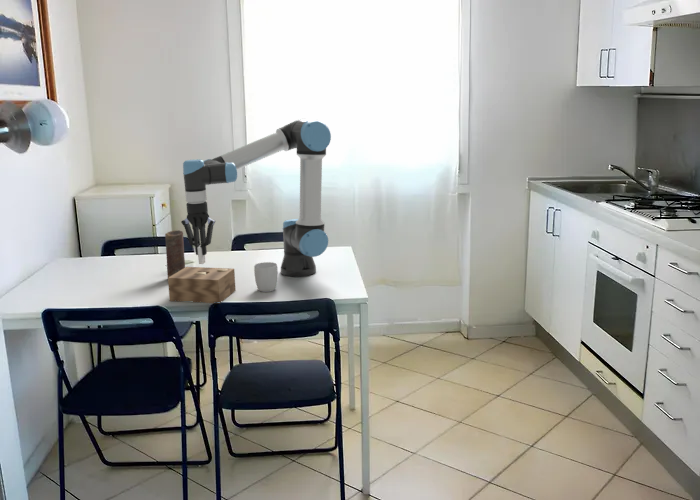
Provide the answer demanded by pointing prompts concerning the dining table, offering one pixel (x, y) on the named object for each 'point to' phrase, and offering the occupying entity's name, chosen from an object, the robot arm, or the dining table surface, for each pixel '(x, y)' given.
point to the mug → (266, 276)
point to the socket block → (202, 284)
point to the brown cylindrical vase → (174, 252)
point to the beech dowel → (200, 273)
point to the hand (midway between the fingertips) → (202, 263)
